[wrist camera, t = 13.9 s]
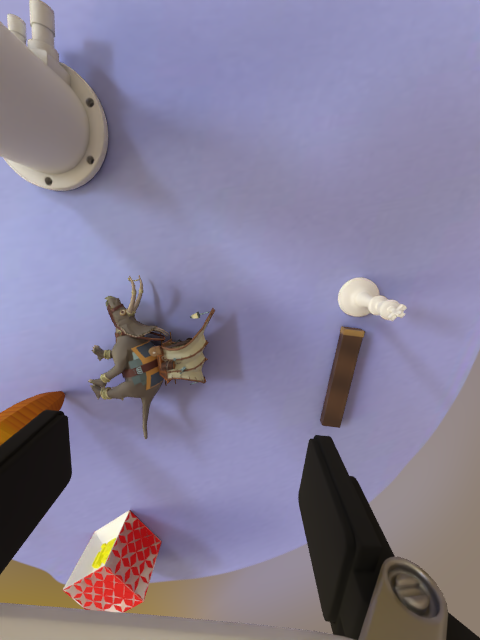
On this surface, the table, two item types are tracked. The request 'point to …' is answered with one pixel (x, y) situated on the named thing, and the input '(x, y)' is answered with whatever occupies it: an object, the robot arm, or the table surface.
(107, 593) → the red patterned box
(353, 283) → the chess piece
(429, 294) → the table surface
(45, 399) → the carrot
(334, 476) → the robot arm
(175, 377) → the figurine
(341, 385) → the walnut stick
